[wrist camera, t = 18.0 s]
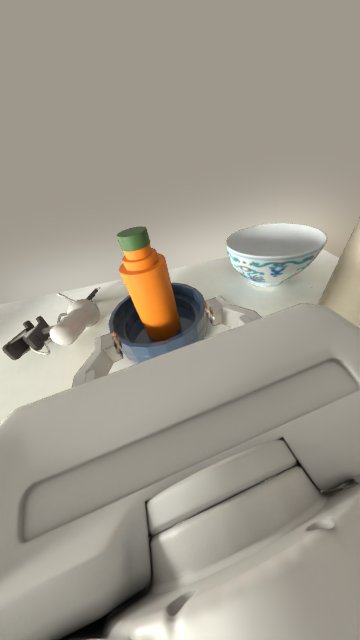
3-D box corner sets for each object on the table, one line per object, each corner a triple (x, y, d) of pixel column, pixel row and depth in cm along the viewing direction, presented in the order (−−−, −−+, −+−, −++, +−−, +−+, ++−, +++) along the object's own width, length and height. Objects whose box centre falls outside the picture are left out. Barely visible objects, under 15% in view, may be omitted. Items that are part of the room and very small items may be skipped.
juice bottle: (141, 339, 26) (94, 244, 17) (153, 315, 30) (120, 226, 20) (176, 341, 25) (146, 238, 15) (183, 315, 29) (163, 220, 19)
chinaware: (270, 255, 40) (278, 218, 35) (331, 283, 29) (355, 236, 24) (213, 273, 38) (211, 238, 33) (254, 311, 27) (261, 267, 22)
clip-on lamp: (72, 315, 41) (14, 370, 26) (56, 291, 38) (-22, 337, 22) (117, 301, 40) (84, 349, 24) (104, 275, 37) (57, 312, 21)
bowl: (105, 362, 25) (88, 343, 22) (140, 303, 35) (133, 284, 32) (201, 373, 21) (197, 351, 18) (210, 302, 31) (209, 281, 28)
